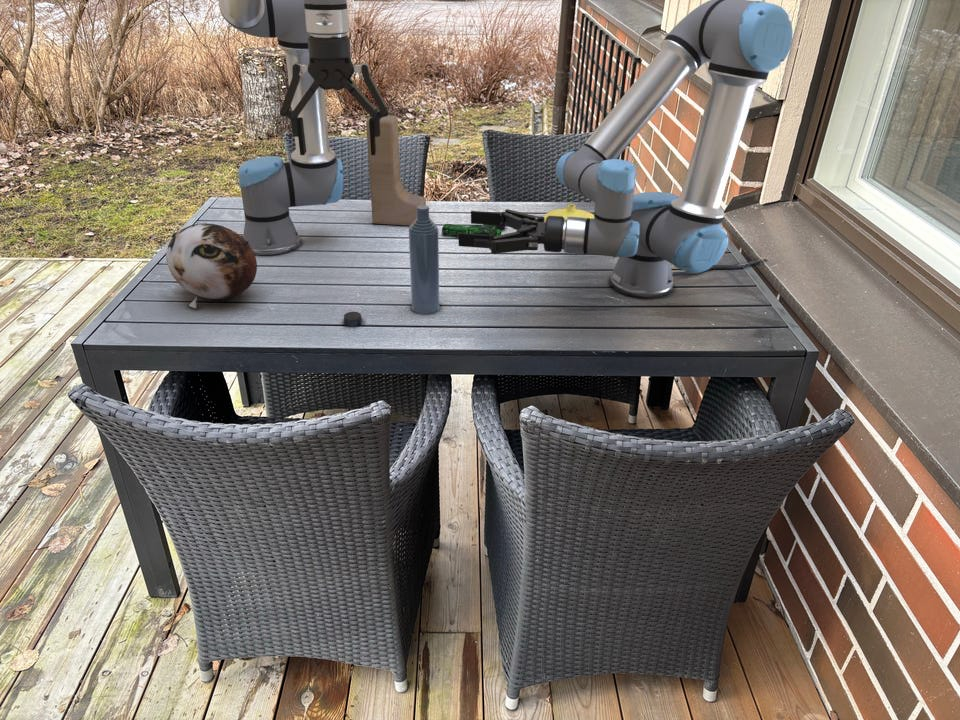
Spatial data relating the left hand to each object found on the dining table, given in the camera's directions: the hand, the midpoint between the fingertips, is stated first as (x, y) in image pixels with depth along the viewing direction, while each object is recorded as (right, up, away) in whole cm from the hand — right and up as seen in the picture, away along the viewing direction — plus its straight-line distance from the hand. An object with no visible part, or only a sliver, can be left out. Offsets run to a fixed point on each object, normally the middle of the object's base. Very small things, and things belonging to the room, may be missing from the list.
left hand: (338, 153), depth 140 cm
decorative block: (+4, +1, +75) cm, 75 cm away
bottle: (+15, -28, +26) cm, 41 cm away
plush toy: (-34, -25, +30) cm, 52 cm away
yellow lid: (+54, -2, +71) cm, 90 cm away
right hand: (+24, -12, +14) cm, 31 cm away
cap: (-1, -31, +18) cm, 36 cm away
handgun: (+27, -3, +68) cm, 73 cm away
